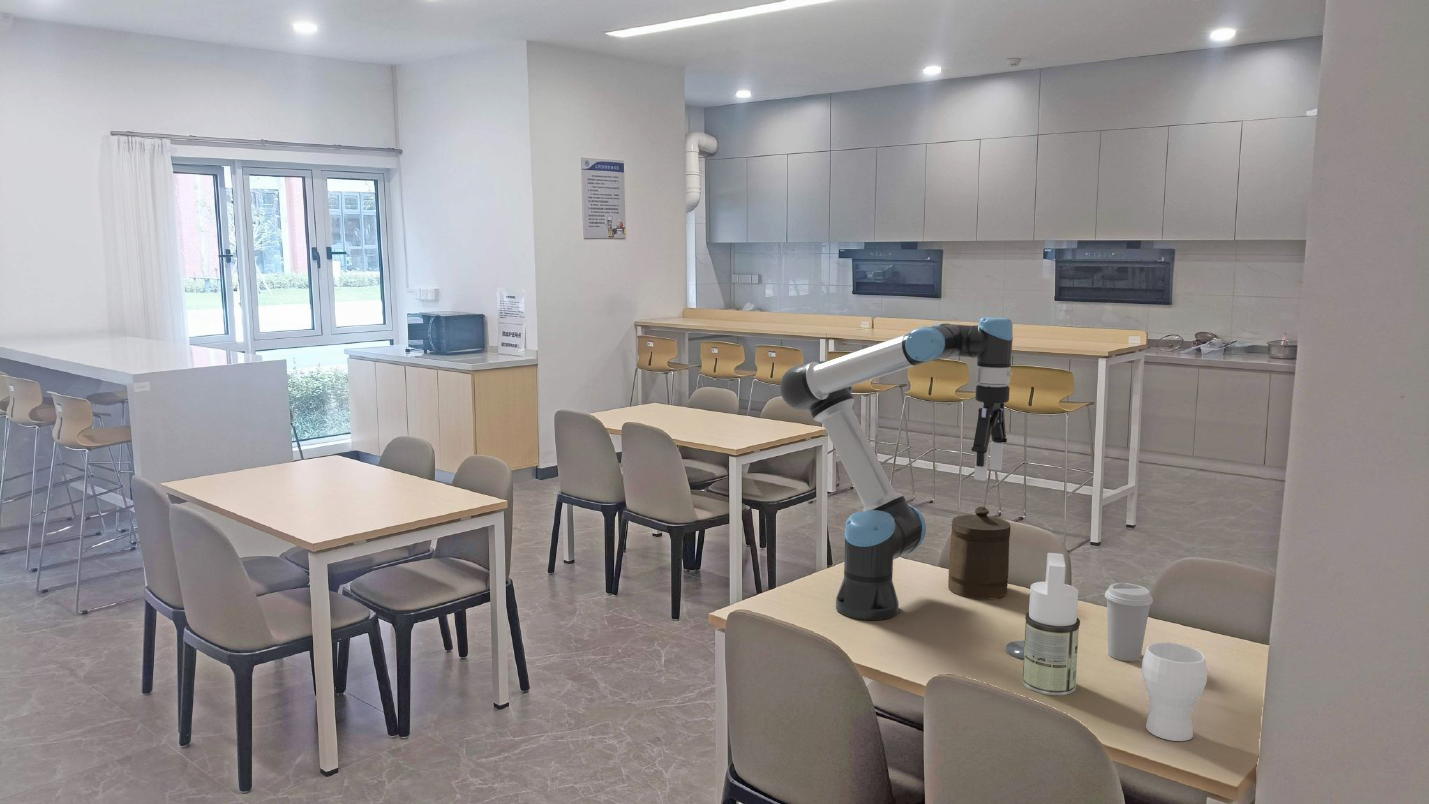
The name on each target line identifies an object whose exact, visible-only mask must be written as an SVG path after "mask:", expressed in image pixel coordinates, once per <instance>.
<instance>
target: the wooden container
mask: <svg viewBox="0 0 1429 804" xmlns="http://www.w3.org/2000/svg"><path fill="white" fill-rule="evenodd" d="M974 513H975V514H966V515H964V514H963V515H958V516H955V517H953V518H952V520H951V534H950V544H949V545H950V546H949V559H948V560H949V561H948V580H947V581H948V582H947V588H948V590H950V591H951V592H952V593H954V594H956V595H959V596H961V597H965V598H970V599H976V600H994V599H999V598H1003V597H1005V596H1006V595H1007V593H1008V585H1009V582H1008V580H1009V566H1010V565H1009V564H1010V563H1009V561H1010V536H1011V524H1010V522H1009V521H1007V520H1005V519H1002V518H998V517H996V516H991V515H990V516H989V514H990V510H989V509H988V508H986V507H985V506H977V507H976V508H975V510H974Z"/></svg>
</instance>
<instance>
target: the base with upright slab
mask: <svg viewBox="0 0 1429 804" xmlns="http://www.w3.org/2000/svg"><path fill="white" fill-rule="evenodd" d="M1046 556H1047V557H1046V568H1045V569H1046V571H1045V581H1036V582H1034V583H1031V584H1030V589H1029V590H1030V591H1029V603H1028V604H1029V607H1028V608H1029V609H1028V612H1029V617H1030V618H1031V619H1032V620H1034V621H1036V622H1039V623H1042V624H1046V625H1051V626H1069V625H1073V624H1075V623H1076V620H1077V618H1078V603H1079V590H1078V588H1076V587H1074V586H1073V585H1069V584H1067V583H1065V579H1066V563H1065V562H1066V561H1065V557H1064V553H1058V552H1057V553H1055V552H1047V555H1046Z"/></svg>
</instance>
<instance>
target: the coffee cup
mask: <svg viewBox="0 0 1429 804" xmlns="http://www.w3.org/2000/svg"><path fill="white" fill-rule="evenodd" d="M1104 597H1105V598H1106V605H1107V606H1106V608H1107V609H1106V611H1107V612H1106V613H1107V614H1106V615H1107V617H1106V618H1107V652H1108V653H1107V654H1108V656H1109V657H1111V658H1113V659H1115V660H1118V661H1121V662H1128V661H1129V662H1130V663H1131V662H1132V663H1133V662H1138V661H1140V660H1141V658H1142V657H1141V656H1142V651H1143V648H1144V647H1143V646H1144V639H1145V634H1146V629H1147V624H1148V619H1149V612H1150V607H1151V605H1152V604H1153V603H1154V601H1153V600H1154V599H1153V596H1152V595H1151V592H1150V590H1149V589H1148V588H1146V587H1144V586H1142V585H1138V584H1133V583H1126V582H1125V583H1124V582H1117V583H1112V584H1110V585H1109V586H1108V589H1106V590H1105V593H1104Z"/></svg>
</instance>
